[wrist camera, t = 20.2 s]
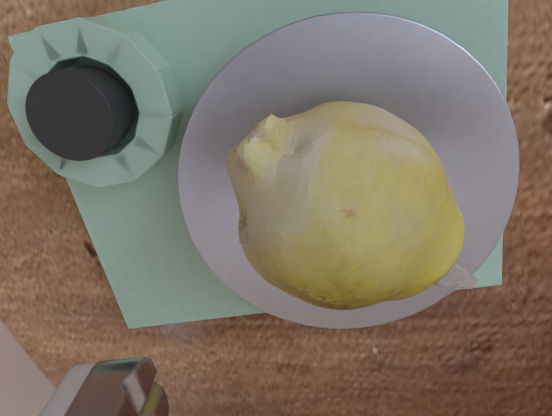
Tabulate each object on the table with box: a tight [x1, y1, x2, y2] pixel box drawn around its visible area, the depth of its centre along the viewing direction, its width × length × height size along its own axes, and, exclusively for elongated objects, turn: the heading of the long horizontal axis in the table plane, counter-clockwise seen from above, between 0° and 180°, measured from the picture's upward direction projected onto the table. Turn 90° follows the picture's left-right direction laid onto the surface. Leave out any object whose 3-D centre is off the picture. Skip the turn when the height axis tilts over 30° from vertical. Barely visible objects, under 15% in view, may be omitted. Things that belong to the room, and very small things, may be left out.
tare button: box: [25, 65, 133, 161], centre depth 15 cm, size 3×3×2 cm
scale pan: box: [177, 12, 520, 329], centre depth 16 cm, size 12×12×1 cm
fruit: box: [226, 101, 478, 310], centre depth 13 cm, size 6×6×10 cm
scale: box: [7, 0, 508, 329], centre depth 17 cm, size 18×14×3 cm
